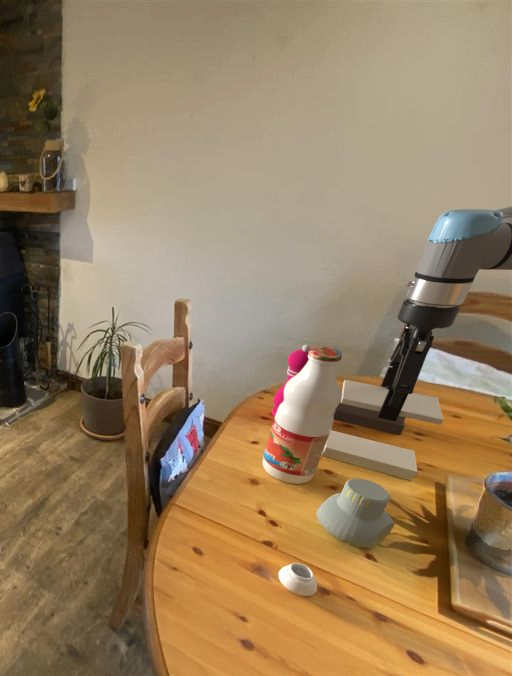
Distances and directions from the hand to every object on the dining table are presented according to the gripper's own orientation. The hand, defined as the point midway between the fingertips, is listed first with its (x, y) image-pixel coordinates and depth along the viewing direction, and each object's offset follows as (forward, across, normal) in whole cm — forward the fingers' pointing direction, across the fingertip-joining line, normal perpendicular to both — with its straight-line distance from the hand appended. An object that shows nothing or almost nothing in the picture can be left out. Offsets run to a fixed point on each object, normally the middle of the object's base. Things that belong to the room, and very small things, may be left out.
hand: (386, 406), depth 85 cm
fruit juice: (+13, +14, -13) cm, 23 cm away
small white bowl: (+13, +44, -8) cm, 47 cm away
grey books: (+13, -18, 0) cm, 22 cm away
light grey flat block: (+13, 0, 0) cm, 13 cm away
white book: (-1, 0, 0) cm, 1 cm away
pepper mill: (+13, -10, -16) cm, 23 cm away
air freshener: (+13, +27, -2) cm, 30 cm away
